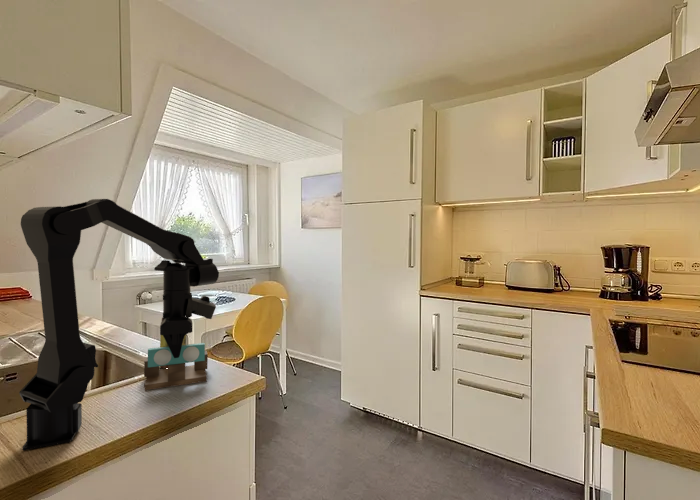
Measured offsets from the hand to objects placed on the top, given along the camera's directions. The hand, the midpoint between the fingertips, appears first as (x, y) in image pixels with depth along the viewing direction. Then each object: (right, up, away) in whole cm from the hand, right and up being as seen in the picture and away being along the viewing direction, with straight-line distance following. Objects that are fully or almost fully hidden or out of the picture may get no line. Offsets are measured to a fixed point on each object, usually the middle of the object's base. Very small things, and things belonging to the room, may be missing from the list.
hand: (176, 354), depth 83 cm
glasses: (-1, -2, +3) cm, 4 cm away
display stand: (-2, -7, +3) cm, 8 cm away
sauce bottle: (-7, -7, +12) cm, 15 cm away
